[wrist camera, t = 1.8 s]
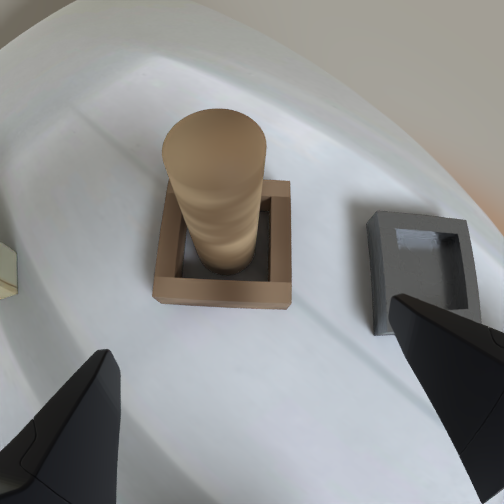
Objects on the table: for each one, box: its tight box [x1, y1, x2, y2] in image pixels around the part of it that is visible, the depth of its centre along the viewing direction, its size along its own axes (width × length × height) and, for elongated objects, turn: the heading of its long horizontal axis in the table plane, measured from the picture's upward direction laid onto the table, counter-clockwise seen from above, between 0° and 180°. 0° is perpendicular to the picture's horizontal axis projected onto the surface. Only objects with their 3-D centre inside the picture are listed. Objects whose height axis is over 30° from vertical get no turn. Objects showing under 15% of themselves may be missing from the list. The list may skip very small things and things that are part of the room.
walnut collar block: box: [152, 179, 292, 310], centre depth 23 cm, size 9×9×2 cm
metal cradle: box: [366, 211, 481, 336], centre depth 23 cm, size 9×9×2 cm
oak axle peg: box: [162, 109, 267, 275], centre depth 19 cm, size 4×4×12 cm
